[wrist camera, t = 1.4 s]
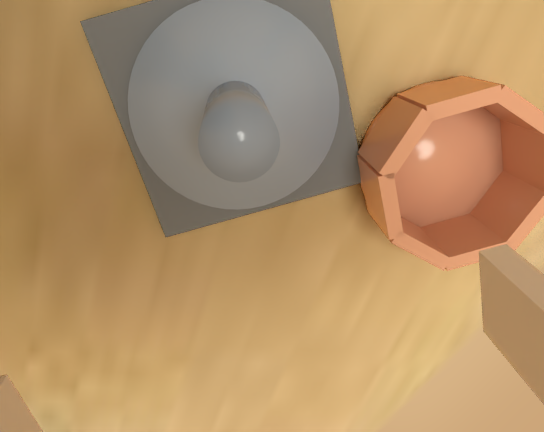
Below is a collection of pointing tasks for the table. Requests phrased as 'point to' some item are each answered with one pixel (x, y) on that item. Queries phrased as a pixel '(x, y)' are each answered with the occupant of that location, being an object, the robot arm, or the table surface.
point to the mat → (116, 74)
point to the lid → (233, 103)
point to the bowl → (454, 169)
